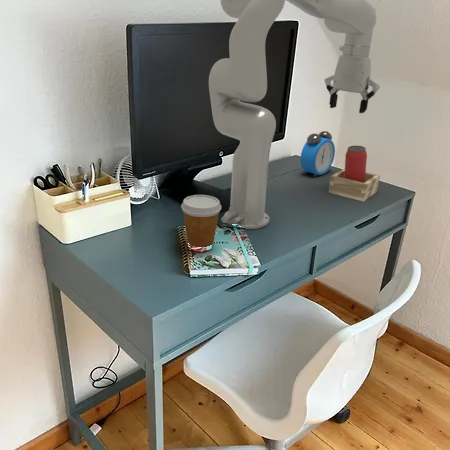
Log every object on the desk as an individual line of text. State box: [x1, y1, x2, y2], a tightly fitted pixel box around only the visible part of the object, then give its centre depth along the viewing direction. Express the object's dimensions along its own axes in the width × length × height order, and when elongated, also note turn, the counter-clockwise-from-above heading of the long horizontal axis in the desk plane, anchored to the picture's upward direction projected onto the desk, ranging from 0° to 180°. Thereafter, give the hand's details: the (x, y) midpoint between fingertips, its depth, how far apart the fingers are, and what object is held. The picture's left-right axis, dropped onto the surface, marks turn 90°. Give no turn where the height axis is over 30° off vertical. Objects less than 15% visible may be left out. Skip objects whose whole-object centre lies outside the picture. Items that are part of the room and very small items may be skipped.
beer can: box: [344, 145, 368, 183], centre depth 160 cm, size 7×7×12 cm
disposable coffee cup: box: [180, 194, 222, 247], centre depth 120 cm, size 10×10×12 cm
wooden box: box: [328, 167, 381, 203], centre depth 162 cm, size 12×12×6 cm
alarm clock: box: [300, 130, 336, 178], centre depth 176 cm, size 13×6×15 cm, turn 135°
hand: (347, 110), depth 153 cm, fingers open, 9 cm apart
